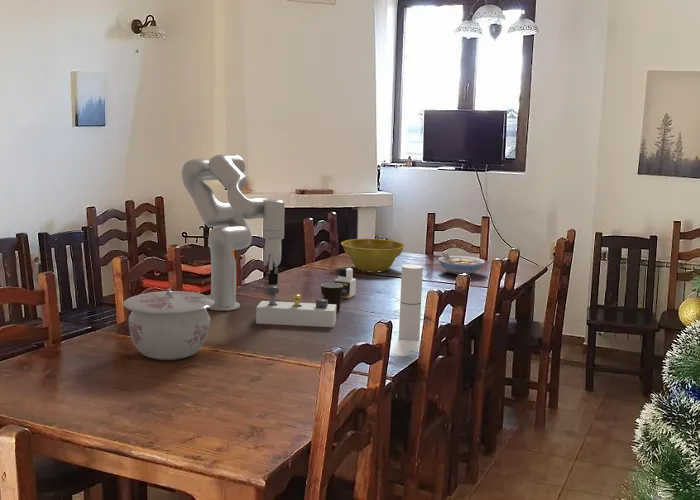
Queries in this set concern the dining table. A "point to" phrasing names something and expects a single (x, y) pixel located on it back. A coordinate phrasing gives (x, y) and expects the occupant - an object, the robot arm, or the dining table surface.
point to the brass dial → (296, 300)
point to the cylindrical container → (410, 302)
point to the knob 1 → (272, 294)
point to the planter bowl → (372, 253)
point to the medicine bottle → (346, 282)
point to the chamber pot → (169, 323)
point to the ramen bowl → (461, 264)
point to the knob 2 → (321, 303)
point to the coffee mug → (332, 293)
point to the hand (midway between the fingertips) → (273, 284)
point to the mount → (296, 314)
